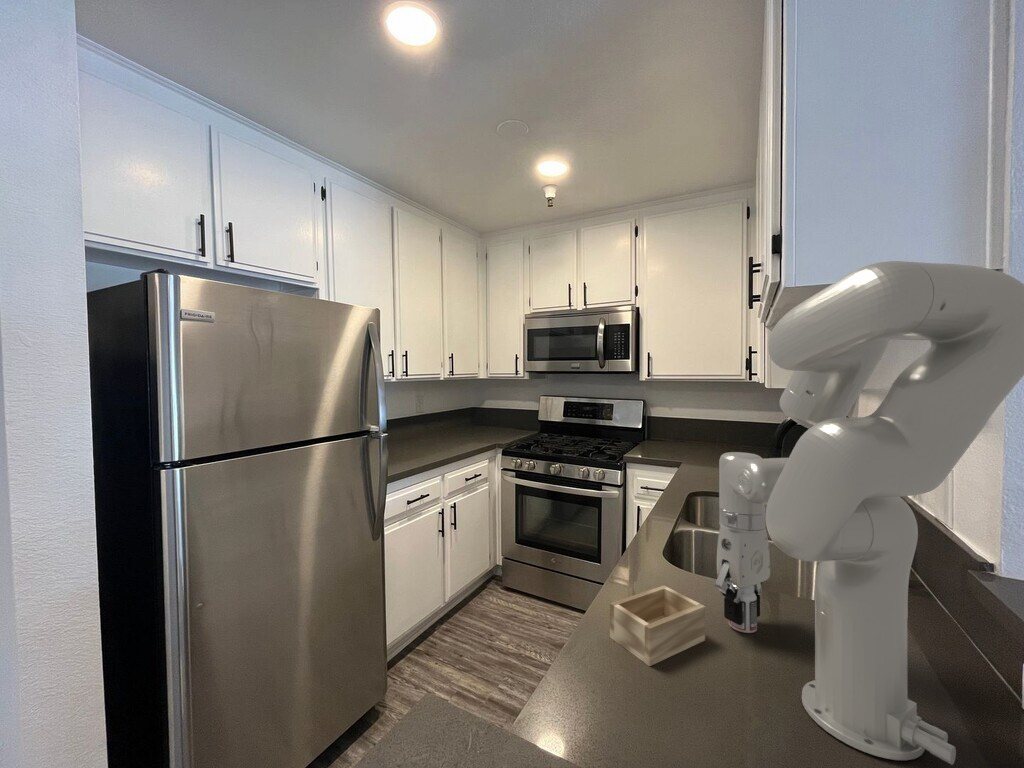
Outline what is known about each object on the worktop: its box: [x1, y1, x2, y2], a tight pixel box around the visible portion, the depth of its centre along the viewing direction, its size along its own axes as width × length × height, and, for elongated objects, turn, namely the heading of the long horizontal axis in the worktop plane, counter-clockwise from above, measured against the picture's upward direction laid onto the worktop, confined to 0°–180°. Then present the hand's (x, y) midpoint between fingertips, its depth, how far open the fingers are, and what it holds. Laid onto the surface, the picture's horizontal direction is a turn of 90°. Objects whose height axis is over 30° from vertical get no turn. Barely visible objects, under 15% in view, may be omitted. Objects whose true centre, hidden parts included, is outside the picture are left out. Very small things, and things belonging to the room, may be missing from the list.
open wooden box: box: [609, 584, 706, 667], centre depth 74 cm, size 9×14×6 cm, turn 120°
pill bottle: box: [727, 578, 758, 634], centre depth 78 cm, size 5×5×8 cm
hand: (742, 616), depth 78 cm, fingers closed on pill bottle, 4 cm apart
